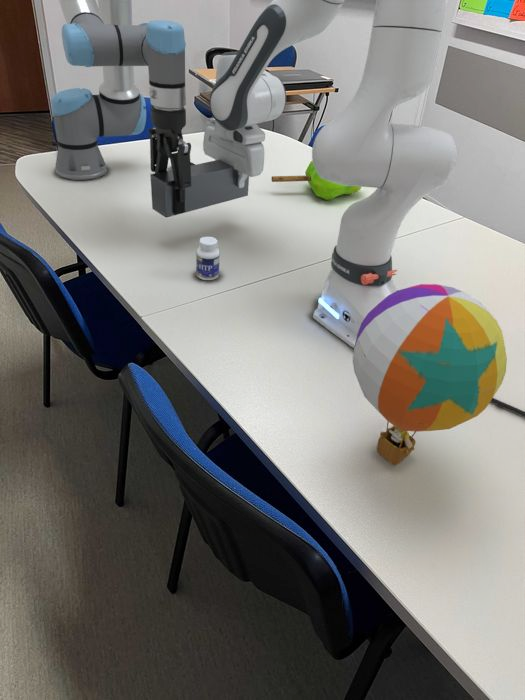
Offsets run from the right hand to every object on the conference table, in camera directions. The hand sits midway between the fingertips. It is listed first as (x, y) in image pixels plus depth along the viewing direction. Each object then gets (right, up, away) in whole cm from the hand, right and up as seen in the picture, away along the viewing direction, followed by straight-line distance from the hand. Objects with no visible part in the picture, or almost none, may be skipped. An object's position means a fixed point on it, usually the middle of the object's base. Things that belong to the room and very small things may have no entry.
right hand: (231, 182), depth 134 cm
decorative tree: (+25, +6, +30) cm, 40 cm away
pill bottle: (-5, -26, -13) cm, 30 cm away
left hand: (-14, -9, -8) cm, 19 cm away
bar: (-7, -6, -3) cm, 10 cm away
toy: (+29, -60, -52) cm, 85 cm away
